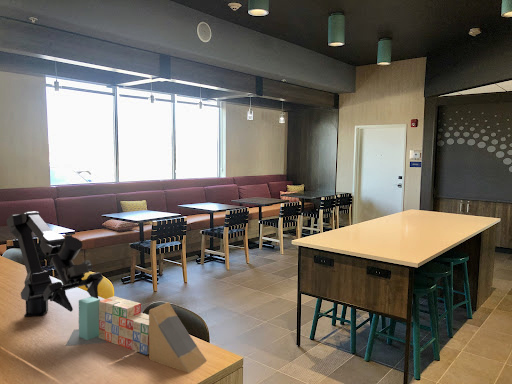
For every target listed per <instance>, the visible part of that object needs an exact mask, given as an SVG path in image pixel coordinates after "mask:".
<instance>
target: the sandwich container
mask: <svg viewBox="0 0 512 384" xmlns="http://www.w3.org/2000/svg"><path fill="white" fill-rule="evenodd" d="M148 315H149V354H148V355H149V356H148V357H149V360H151V361H153V362H156V363H159V364H161V365H163V366H167V367H170V368H174V369H176V370H178V371H182V372H184V373H188V374H191V373H192V372H194V371H196V370H197V369H199V367H202V366H203V364H205V363H207V361H208V360H207V358H206V357H205V355H204V354H203V352H202V351H201V350H200V348H199V347H198V345H197V344H196V342H195V341H194V339H193V337H192V336H191V335H190V333H189V332H188V330H187V329H186V327H185V325H184V324H183V323H182V321H181V319H180V318H179V317H178V315H177V313H176V311H175V310H174V308H173V307H172V305H171V303H170V301H167V302H165V303H163V304H160V305H157V306H155V307H154V308H153V307H152V308H151V309H149V311H148Z"/></svg>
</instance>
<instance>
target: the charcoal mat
mask: <svg viewBox="0 0 512 384" xmlns="http://www.w3.org/2000/svg"><path fill="white" fill-rule="evenodd" d="M107 342H108V341H106V340H104V339H101V338H99V336H97V337H95V338H92V339H89V340H86V339H83V338H81V337H79V328H77V329H73V330H72V333H71V334H70V336H69V338H68V339H67V341H66V343H65V347H67V346H69V347H70V346H77V345H78V346H80V345H82V346H83V345H93V344H94V345H95V344H96V345H97V344H107Z"/></svg>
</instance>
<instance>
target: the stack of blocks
mask: <svg viewBox="0 0 512 384" xmlns="http://www.w3.org/2000/svg"><path fill="white" fill-rule="evenodd" d="M141 306H142V303H140V302H137V301H133V300H129V299H126V298H121V297H119V296H115V295H113V296H111V297H108V298H105V299H102V300H100V301H99V338H101V339H104V340H106V341H107V342H109V343H112V344H115V345H117V346H120V347H121V346H122V347H124V348H127V349H130V350H132V351H135V352H138V353H140V354H143V355H146V356H148V355H149V314H147V313H145V312H144V313H143V312H141V311H142V307H141Z"/></svg>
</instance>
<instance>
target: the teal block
mask: <svg viewBox="0 0 512 384" xmlns="http://www.w3.org/2000/svg"><path fill="white" fill-rule="evenodd" d="M99 301H101V299H100V298H98V299H97V298H94V297H91V296H89V297H86V298H82V299H79V300H78V329H79V337H81V338H83V339H86V340H89V339H92V338H95V337H97V336H99Z"/></svg>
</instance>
